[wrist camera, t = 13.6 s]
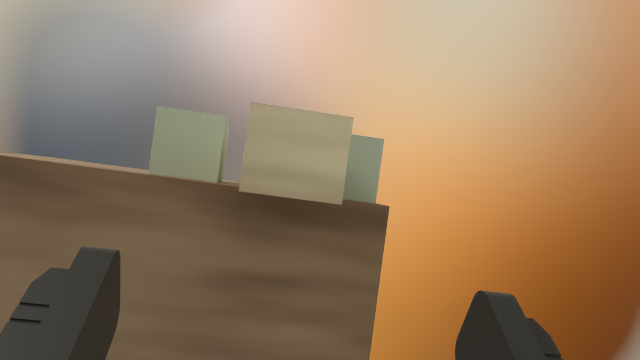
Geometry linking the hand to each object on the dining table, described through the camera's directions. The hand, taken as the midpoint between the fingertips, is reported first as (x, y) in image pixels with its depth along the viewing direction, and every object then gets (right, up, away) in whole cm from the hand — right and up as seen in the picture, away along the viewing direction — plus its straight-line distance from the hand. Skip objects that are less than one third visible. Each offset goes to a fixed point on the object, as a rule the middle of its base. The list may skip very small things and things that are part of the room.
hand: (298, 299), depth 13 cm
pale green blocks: (-3, +2, +20) cm, 20 cm away
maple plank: (-2, +2, +18) cm, 18 cm away
